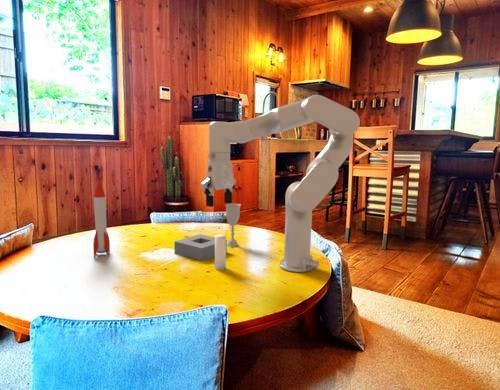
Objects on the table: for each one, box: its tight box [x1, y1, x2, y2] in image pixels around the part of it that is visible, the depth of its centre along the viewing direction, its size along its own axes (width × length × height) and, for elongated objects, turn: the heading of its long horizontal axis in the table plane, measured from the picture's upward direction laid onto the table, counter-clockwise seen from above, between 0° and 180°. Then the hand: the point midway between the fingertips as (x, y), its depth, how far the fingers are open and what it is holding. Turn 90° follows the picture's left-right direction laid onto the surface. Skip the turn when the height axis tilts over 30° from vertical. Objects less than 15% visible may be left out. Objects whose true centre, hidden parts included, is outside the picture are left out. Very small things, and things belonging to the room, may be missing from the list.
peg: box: [214, 234, 227, 271], centre depth 134 cm, size 4×4×12 cm
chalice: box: [224, 203, 242, 248], centre depth 163 cm, size 7×7×18 cm
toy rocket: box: [92, 179, 111, 258], centre depth 145 cm, size 6×6×30 cm
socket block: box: [174, 233, 228, 262], centre depth 152 cm, size 15×15×5 cm
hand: (219, 204), depth 134 cm, fingers open, 9 cm apart
